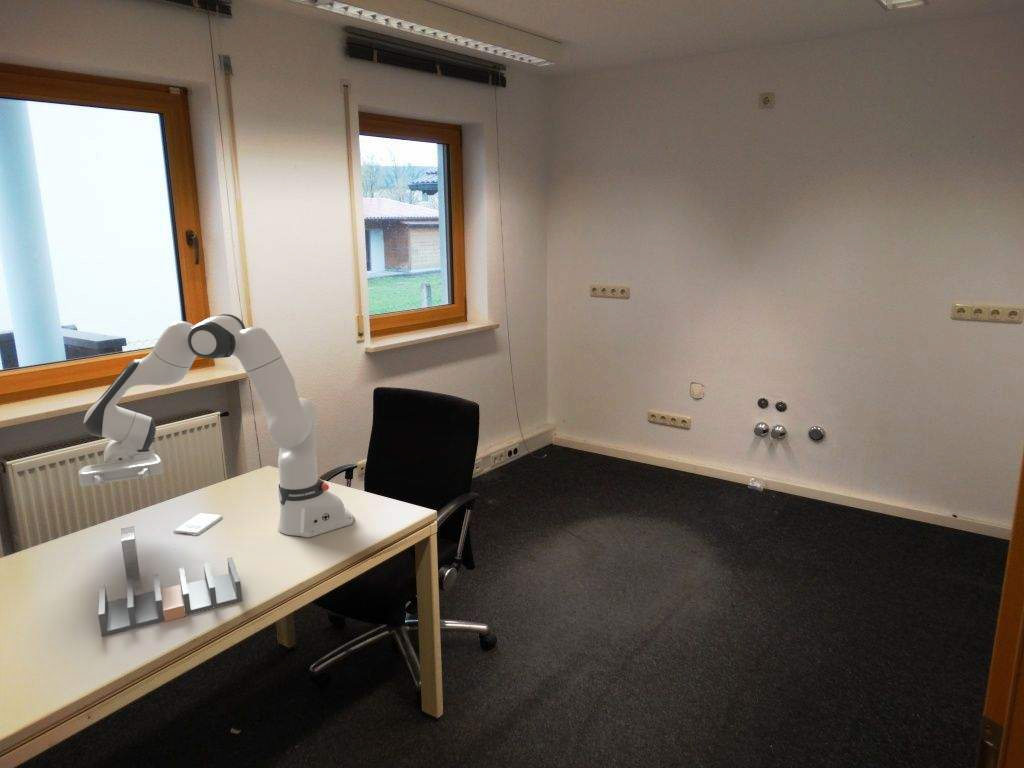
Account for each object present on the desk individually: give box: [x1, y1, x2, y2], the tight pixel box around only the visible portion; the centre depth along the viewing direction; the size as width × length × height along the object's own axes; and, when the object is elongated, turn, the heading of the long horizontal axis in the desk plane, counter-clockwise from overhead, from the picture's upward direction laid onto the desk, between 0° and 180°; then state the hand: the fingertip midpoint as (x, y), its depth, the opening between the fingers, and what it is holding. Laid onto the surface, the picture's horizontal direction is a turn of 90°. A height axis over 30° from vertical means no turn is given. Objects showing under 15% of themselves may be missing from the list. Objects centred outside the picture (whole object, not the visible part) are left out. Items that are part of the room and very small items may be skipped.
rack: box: [97, 556, 243, 637], centre depth 167 cm, size 30×15×6 cm, turn 120°
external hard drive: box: [173, 512, 223, 536], centre depth 211 cm, size 2×8×12 cm
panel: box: [120, 526, 143, 591], centre depth 176 cm, size 3×8×14 cm, turn 29°
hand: (121, 480), depth 183 cm, fingers open, 8 cm apart
